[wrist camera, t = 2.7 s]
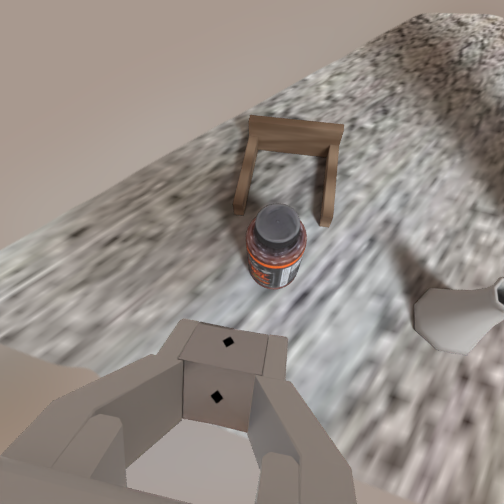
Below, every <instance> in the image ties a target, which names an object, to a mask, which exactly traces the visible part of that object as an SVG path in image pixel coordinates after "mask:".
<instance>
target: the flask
mask: <svg viewBox="0 0 504 504" xmlns="http://www.w3.org/2000/svg"><path fill="white" fill-rule="evenodd" d="M414 311H415V331H417V332H418V333H419V334H420V335H421V336H422V337H423V338H424V339H426V340H427V341H428V342H429V343H430V344H431V345H432V346H433V347H435V348H436V349H437V350H438V351H444V352H449V353H454V354H460V355H465V356H467V355H468V353H469V352H470V351H471V350H472V349H473V348H474V347H475V345H476V344H477V343H478V342H479V341H480V339H481V338H482V337H483V336H484V335H485V334H486V333H487V332H488V331H489V330H490V329H491V328H492V327H493V326H494V325H496V324H497V323H499V322H501V321H502V320H504V277H501V278H499V279H498V280H497V281H496V282H495V283H494V285H492V286H490V287H487V288H482V289H476V290H450V289H437V288H429V289H428V290H427V291H426V292H425V294H424V295H423V296H422V297H421V298H420V299H419V300H418V301H417V302H416V303H415V305H414Z"/></svg>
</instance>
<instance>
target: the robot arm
mask: <svg viewBox="0 0 504 504" xmlns="http://www.w3.org/2000/svg"><path fill="white" fill-rule="evenodd" d="M268 336H269V338H268ZM287 346H288V339H287V337H283V336H276V335H266V334H260V333H255V332H249V331H243V330H237V329H234V328H229V327H224V326H219V325H214V324H209V323H204V322H199V321H194V320H188V319H182V320H180V321H179V322H178V324H177V325H176V327H175V328H174V330H173V331H172V333H171V334H170V336H169V337H168V339H167V340H166V342H165V343H164V345H163V346H162V347H161V349H160V350H159V352H158V353H157V355H153V354H150V355H148V356H146V357H144V358H142V359H140V360H138V361H136V362H133V363H131V364H129V365H127V366H125V367H123V368H121V369H119V370H117V371H115V372H112V373H110V374H108V375H106V376H104V377H102V378H100V379H98V380H96V381H94V382H91V383H89V384H87V385H85V386H83V387H81V388H79V389H77V390H75V391H72V392H70V393H68V394H66V395H64V396H62V397H60V398H58V399H56V400H53V401H52V402H51V403H50V404H49V405H48V406H47V407H46V408H45V409H44V410H43V411H42V412H41V414H40V415H39V416H38V417H37V418H36V419H35V420H34V421H33V422H32V423H31V424H30V425H29V426H28V427H27V428H26V429H25V430H24V431H23V432H22V433H21V435H19V436H18V438H17V439H16V440H15V441H14V442H13V443H12V444H11V445H10V446H9V447H8V448H7V449H6V450H5V451H4V452H3V453H2V454H1V455H0V504H191V503H187V502H183V501H179V500H175V499H171V498H167V497H163V496H159V495H155V494H151V493H147V492H142V491H139V490H134V489H131V488H127V483H126V468H127V467H129V466H130V465H131V464H132V463H133V462H134V461H136V460H137V459H138V458H139V457H140V456H141V455H142V454H144V453H145V452H146V451H147V450H148V449H149V448H151V447H152V446H153V445H154V444H155V443H156V442H158V441H159V440H160V439H161V438H162V437H163V436H164V435H166V434H167V433H168V432H169V431H170V430H171V429H172V428H173V427H175V426H176V425H177V424H178V423H179V422H180V421H182V418H183V419H188V420H193V421H199V422H204V423H209V424H215V425H219V426H223V427H227V428H231V429H235V430H239V431H243V432H247V435H248V438H249V441H250V443H251V446H252V449H253V452H254V455H255V457H256V460H257V463H258V466H259V469H260V476H259V481H258V487H257V493H256V499H255V504H357V503H356V496H355V489H354V483H353V476H352V470H351V467H350V466H349V464H348V463H347V461H346V460H345V459H344V457H343V456H342V454H341V453H340V451H339V450H338V449H337V447H336V446H335V444H334V443H333V441H332V440H331V438H330V437H329V436H328V434H327V433H326V431H325V430H324V428H323V427H322V426H321V424H320V423H319V421H318V420H317V418H316V417H315V416H314V414H313V413H312V411H311V410H310V408H309V407H308V406H307V404H306V403H305V401H304V400H303V398H302V397H301V395H300V394H299V393H298V391H297V390H296V388H295V387H294V385H293V384H292V383H291V382H290V381H285V376H286V361H287Z"/></svg>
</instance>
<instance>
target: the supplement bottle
mask: <svg viewBox="0 0 504 504" xmlns="http://www.w3.org/2000/svg"><path fill="white" fill-rule="evenodd" d="M306 241H307V234H306V230H305V227H304V225H303V224H302V222H301V221H300V219H299V216H298V214H297V212H296V211H295V210H294V209H293V208H291V207H290V206H288V205H285V204H279V203H276V204H270V205H268V206H266V207H264V208H263V209H261V210H260V211H259V213H258V215H257V217H255V218H254V219H253V220H252V222H251V223H250V225H249V227H248V229H247V233H246V246H247V254H248V265H249V270H250V273H251V276H252V277H253V279H254V280H255V281H256V282H257V283H258V284H259V285H261V286H262V287H265V288H268V289H280V288H283V287H285V286H287V285H289V284H290V283H291V282H292V281H293V280H294V278H295V277H296V274H297V272H298V269H299V266H300V262H301V260H302V256H303V253H304V250H305V247H306Z"/></svg>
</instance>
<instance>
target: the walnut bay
mask: <svg viewBox="0 0 504 504" xmlns="http://www.w3.org/2000/svg"><path fill="white" fill-rule="evenodd" d="M343 132H344V124H334V123H324V122H314V121H305V120H295V119H285V118H275V117H266V116H256V115H250V118H249V139H248V144H247V148H246V152H245V156H244V160H243V164H242V168H241V172H240V176H239V180H238V184H237V188H236V193H235V197H234V201H233V208H234V214H236V215H244V211H245V206H246V202H247V197H248V193H249V188H250V184H251V179H252V175H253V170H254V166H255V161H256V157H257V152H258V150H266V151H275V152H283V153H292V154H301V155H310V156H318V157H327V159H326V169H325V178H324V188H323V197H322V207H321V217H320V226H322V227H329V226H330V224H331V221H332V219H333V212H334V200H335V188H336V176H337V164H338V153H339V144H340V141H341V138H342V135H343Z"/></svg>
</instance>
